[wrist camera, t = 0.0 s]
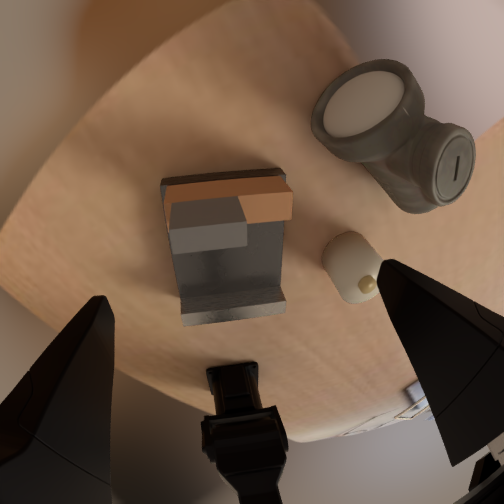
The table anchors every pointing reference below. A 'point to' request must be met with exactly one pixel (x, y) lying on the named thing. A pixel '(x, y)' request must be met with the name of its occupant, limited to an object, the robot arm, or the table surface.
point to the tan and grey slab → (223, 211)
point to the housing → (352, 267)
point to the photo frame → (410, 408)
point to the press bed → (231, 267)
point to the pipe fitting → (394, 136)
